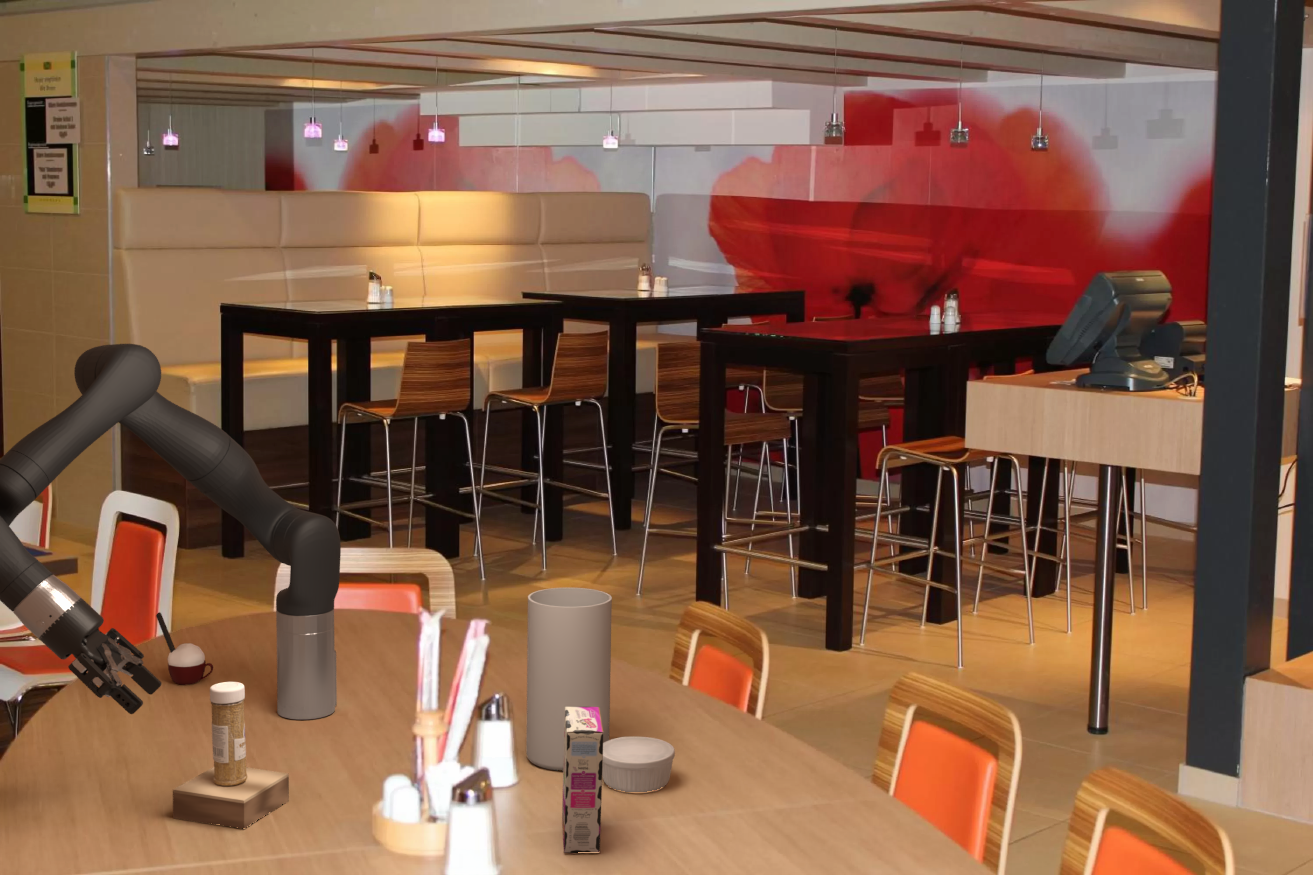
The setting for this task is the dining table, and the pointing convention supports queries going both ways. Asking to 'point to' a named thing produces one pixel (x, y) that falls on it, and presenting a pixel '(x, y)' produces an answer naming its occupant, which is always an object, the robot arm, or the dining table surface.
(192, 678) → the cocoa
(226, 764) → the spice jar
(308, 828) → the dining table surface
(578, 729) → the candy bar box
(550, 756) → the cylinder vase
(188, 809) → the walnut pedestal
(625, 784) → the ramekin
